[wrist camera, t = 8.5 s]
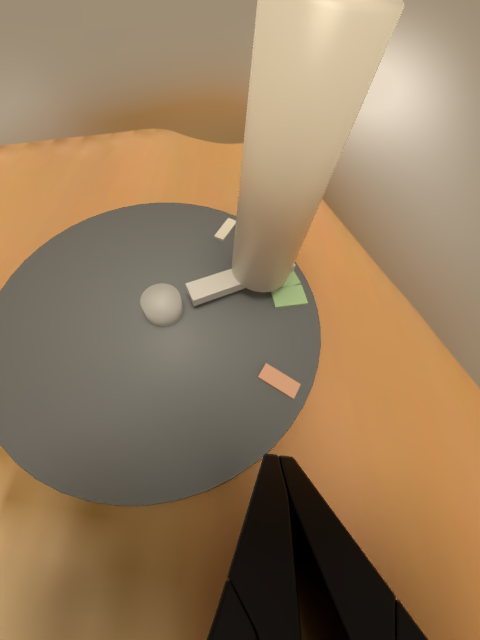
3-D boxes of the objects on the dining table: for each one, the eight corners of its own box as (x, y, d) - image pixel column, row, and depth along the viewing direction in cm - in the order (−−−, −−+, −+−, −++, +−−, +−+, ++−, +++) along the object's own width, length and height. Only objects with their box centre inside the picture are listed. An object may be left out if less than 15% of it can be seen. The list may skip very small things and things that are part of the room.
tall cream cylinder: (201, 322, 16) (172, 19, 5) (179, 275, 17) (118, -41, 6) (302, 284, 18) (447, 13, 7) (275, 245, 20) (357, -31, 8)
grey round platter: (46, 624, 10) (8, 663, 8) (-42, 269, 18) (-74, 247, 16) (378, 364, 17) (399, 352, 15) (218, 184, 24) (218, 161, 22)
